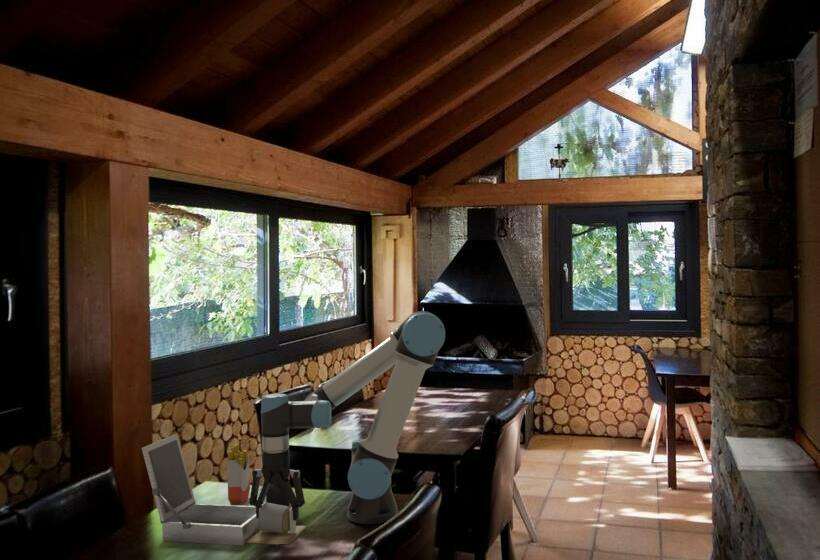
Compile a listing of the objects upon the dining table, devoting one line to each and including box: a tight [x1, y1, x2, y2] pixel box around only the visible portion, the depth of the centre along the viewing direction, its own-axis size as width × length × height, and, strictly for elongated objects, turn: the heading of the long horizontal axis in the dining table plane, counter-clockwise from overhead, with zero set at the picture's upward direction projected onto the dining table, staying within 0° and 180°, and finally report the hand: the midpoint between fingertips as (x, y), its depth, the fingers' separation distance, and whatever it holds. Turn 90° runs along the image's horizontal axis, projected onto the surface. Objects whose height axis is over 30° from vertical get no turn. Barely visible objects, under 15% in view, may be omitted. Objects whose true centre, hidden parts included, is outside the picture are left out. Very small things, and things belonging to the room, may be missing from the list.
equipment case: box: [141, 433, 259, 546], centre depth 198 cm, size 30×18×26 cm, turn 78°
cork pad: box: [247, 525, 307, 545], centre depth 194 cm, size 12×13×1 cm
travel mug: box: [264, 447, 291, 507], centre depth 219 cm, size 8×8×20 cm
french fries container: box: [226, 443, 251, 505], centre depth 226 cm, size 5×11×18 cm, turn 178°
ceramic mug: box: [258, 502, 292, 533], centre depth 196 cm, size 11×8×8 cm
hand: (277, 530), depth 194 cm, fingers closed on ceramic mug, 8 cm apart
